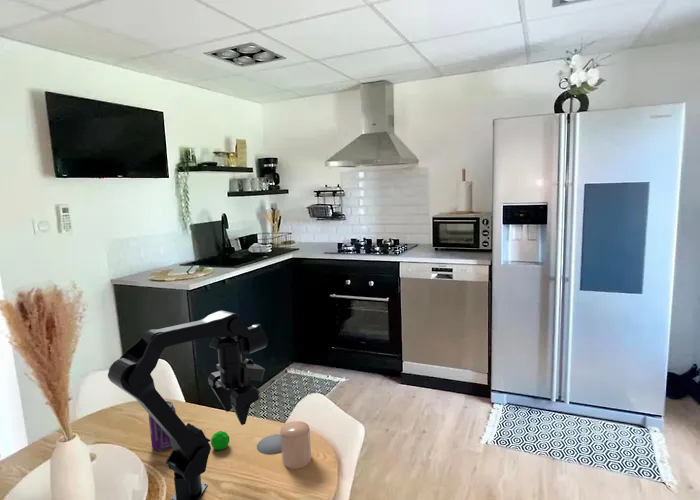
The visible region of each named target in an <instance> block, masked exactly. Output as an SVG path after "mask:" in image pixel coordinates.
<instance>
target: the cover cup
mask: <svg viewBox="0 0 700 500" xmlns="http://www.w3.org/2000/svg"><path fill="white" fill-rule="evenodd" d="M310 429H311V428H310V425H309V424H308V423H306V422H304V421H300V420H299V421H298V420H296V421H290V422H287V423H285V424H283V426H281V428H280V430H279V434H280V437H281V451H282V453H281V460H282V461H281V462H282V465H283V466H284V467H286V468H289V469H295V470H297V469H300V468H303V467H306V466H307V465H309V464H310V463H311V460H312V458H313V457H312V448H311V447H312V446H311V430H310Z"/></svg>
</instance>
